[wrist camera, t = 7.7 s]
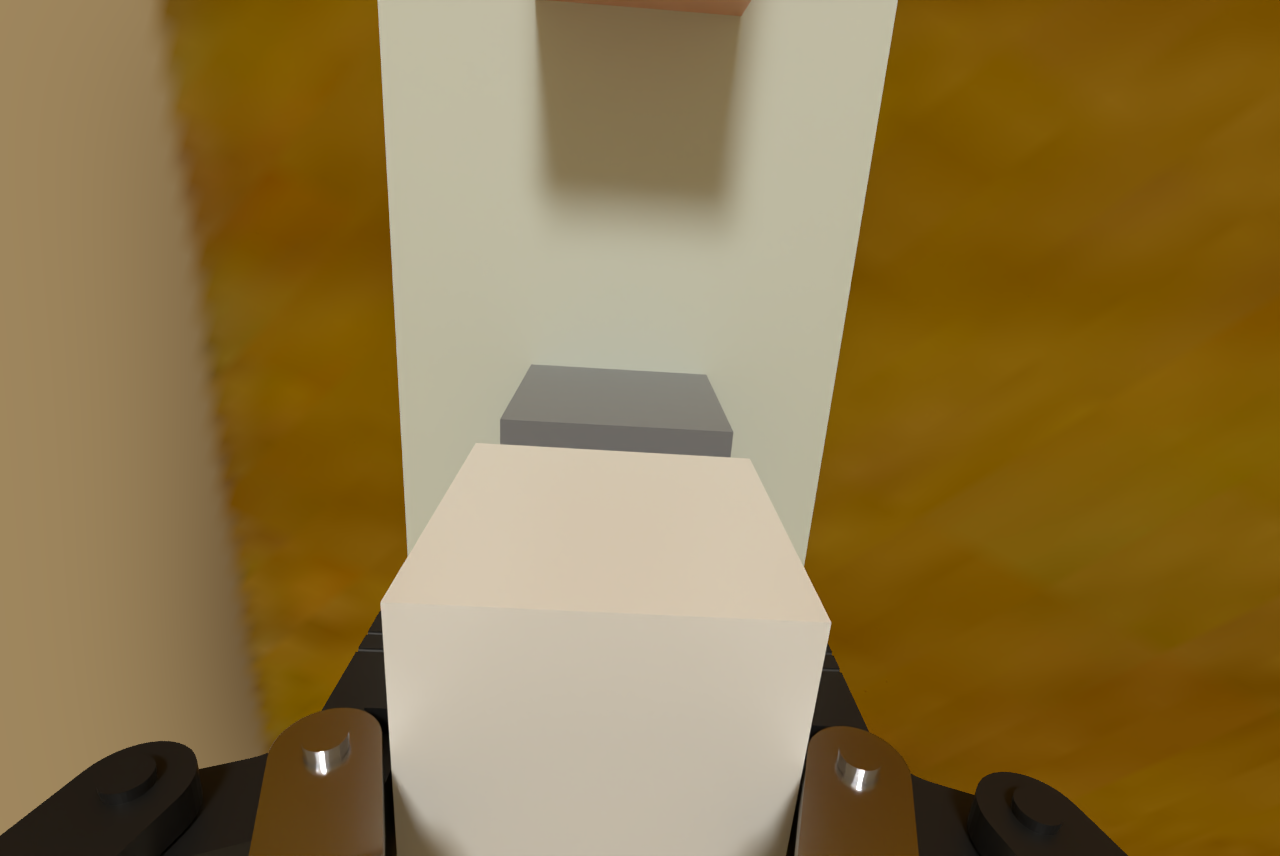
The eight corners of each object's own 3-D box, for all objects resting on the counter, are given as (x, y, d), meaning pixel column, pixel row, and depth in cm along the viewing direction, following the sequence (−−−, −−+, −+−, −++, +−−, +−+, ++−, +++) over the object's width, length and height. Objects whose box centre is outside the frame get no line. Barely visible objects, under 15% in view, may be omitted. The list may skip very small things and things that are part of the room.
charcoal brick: (685, 576, 20) (703, 685, 16) (528, 569, 20) (500, 677, 16) (706, 374, 18) (733, 432, 14) (531, 364, 18) (500, 419, 13)
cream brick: (711, 743, 14) (755, 1011, 9) (478, 735, 14) (406, 1005, 9) (749, 458, 12) (831, 622, 7) (476, 443, 11) (381, 602, 7)
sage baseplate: (788, 583, 22) (797, 604, 21) (420, 566, 21) (409, 586, 20) (933, -334, 14) (960, -380, 13) (375, -393, 14) (353, -446, 13)
